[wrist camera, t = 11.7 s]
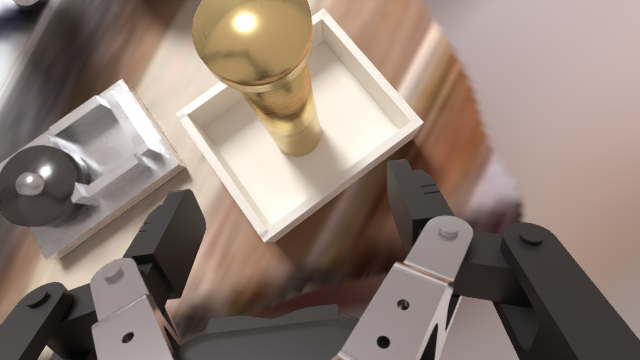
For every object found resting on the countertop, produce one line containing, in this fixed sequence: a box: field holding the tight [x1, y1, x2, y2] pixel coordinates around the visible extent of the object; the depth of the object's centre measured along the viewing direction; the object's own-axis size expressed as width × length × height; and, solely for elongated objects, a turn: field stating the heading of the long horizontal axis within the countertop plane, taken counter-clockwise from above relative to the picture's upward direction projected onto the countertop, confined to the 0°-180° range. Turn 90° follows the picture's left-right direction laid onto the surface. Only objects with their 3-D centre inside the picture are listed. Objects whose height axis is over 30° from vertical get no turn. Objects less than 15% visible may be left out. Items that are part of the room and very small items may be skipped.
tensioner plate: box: [0, 79, 186, 260], centre depth 25 cm, size 12×9×3 cm
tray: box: [176, 8, 424, 242], centre depth 24 cm, size 13×11×4 cm
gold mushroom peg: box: [192, 0, 321, 157], centre depth 19 cm, size 5×5×13 cm
